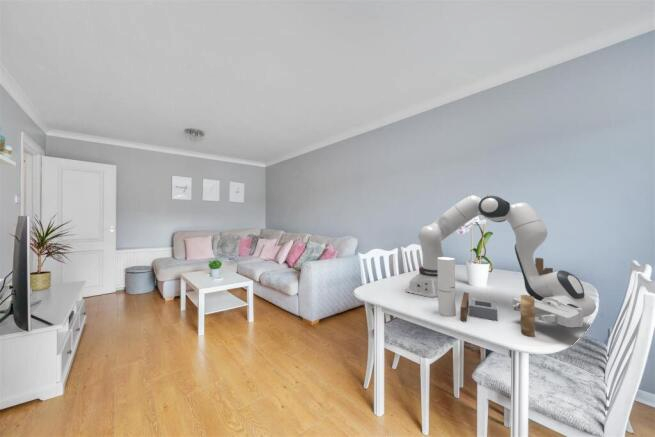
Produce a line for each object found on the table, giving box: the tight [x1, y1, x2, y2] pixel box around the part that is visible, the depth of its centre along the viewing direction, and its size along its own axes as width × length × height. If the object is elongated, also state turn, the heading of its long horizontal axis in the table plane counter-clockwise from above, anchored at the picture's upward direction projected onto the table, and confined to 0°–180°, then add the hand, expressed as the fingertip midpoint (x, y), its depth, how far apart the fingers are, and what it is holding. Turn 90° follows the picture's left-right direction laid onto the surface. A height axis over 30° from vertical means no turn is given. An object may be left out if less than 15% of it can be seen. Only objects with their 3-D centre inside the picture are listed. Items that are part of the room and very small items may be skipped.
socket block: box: [469, 298, 498, 322], centre depth 110 cm, size 10×10×5 cm
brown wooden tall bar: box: [520, 294, 536, 338], centre depth 92 cm, size 4×4×14 cm
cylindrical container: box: [437, 256, 457, 317], centre depth 112 cm, size 7×7×25 cm
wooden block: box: [534, 257, 554, 276], centre depth 140 cm, size 4×11×18 cm, turn 167°
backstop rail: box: [460, 291, 470, 322], centre depth 113 cm, size 2×22×6 cm, turn 148°
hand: (527, 312), depth 92 cm, fingers open, 8 cm apart
